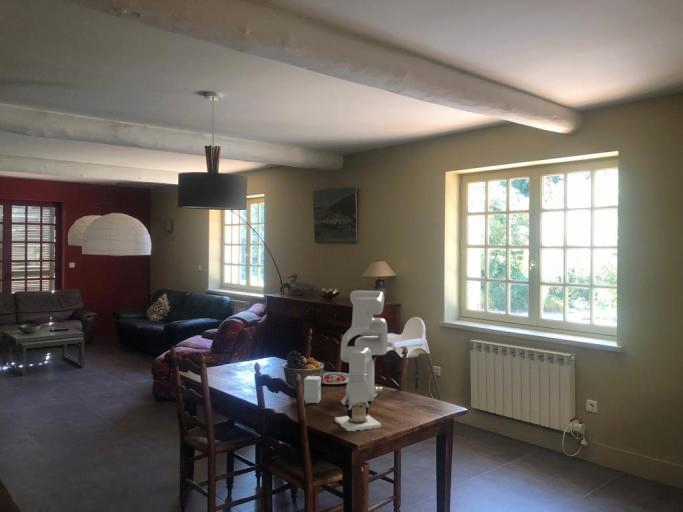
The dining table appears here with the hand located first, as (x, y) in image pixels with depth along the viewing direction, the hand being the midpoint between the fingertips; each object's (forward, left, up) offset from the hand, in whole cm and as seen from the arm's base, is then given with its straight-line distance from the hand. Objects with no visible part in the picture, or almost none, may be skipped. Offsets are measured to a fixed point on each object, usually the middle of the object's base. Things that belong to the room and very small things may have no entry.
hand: (357, 416), depth 248 cm
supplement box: (+8, -40, -4) cm, 41 cm away
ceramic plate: (-17, -75, -4) cm, 77 cm away
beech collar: (0, 0, -1) cm, 1 cm away
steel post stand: (0, 0, -4) cm, 4 cm away
